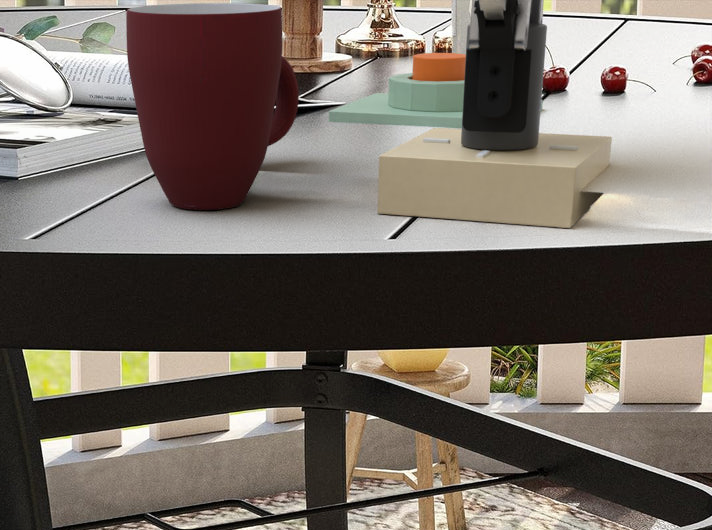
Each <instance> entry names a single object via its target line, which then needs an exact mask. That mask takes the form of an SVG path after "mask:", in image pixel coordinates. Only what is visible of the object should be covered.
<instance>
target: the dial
mask: <svg viewBox="0 0 712 530" xmlns="http://www.w3.org/2000/svg"><path fill="white" fill-rule="evenodd" d="M547 31H548V25H547V24H544V23H542V24H540V23H529V29H528V40H527V47H526V49H533V52H532V65H531V79H530V92H529V106H528V119H527V126H526V128H525V129H524V130H523V131H522V132H520V133H510V132H482V131H467V130H465V129H464V127H463V124H462V128H461V129H462V132H461V144H462V145H463V146H465V147H469V148H473V149H481V150H496V151H510V150H524V149H530V148H534V147H536V146H537V145H538V138H539V133H540V124H541V113H542V112H541V111H542V110H541V100H543V99H542V97H543V96H542V95H543V87H544V86H543V85H544V72H545V59H546V48H547V47H546V46H547V33H548V32H547ZM469 33H470V24H468V25H467V27H466V45H465V51H466V50H467V48H469ZM465 68H466V60H465ZM464 85H465V78H464ZM463 103H464V96H463ZM462 121H463V114H462Z"/></svg>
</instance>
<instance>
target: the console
mask: <svg viewBox="0 0 712 530" xmlns="http://www.w3.org/2000/svg"><path fill="white" fill-rule="evenodd" d="M461 132H462V128H446V127H432V128H431V129H429V130H427V131H425V132H423V133H421V134H419V135H417V136H415V137H413V138H411V139H410V140H407V141H405V142H403V143H401V144H399V145H398V146H395V147H393V148H392V149H389V150H388V151H386V152H383V153H382V154H379V156H378V178H377V179H378V180H377V181H378V184H377V185H378V186H377V210H376V212H377V214H378V215H392V216H403V217H404V216H405V217H416V218H418V217H419V218H429V219H442V220H443V219H444V220H456V221H471V222H483V223H497V224H510V225H522V226H534V227H536V226H537V227H546V228H547V227H550V228H562V229H572V227H573V226H574V225H575V224H576V223H577V222H578V221H579V220H580V219H581V218H582V217H583V216H584V215H585V214H586V213H587V212H588V211H589V210H590V209H591V207H592V206H593V205H594V204H595V203H596V202H597V201H598V200H599V199H600V198H602V196H603V195H604V194H605V192H600V191H598V192H597V191H583V189H584V188H585V187H587V186H588V185H589V184H590V183H591V182H593V180H594V179H596V177H598V175H600V174H601V173H602V172H603V171H604V170H605V169H606V168H607V167H608V166H609V165H610V160H611V151H612V140H613V137H612V136H607V135H606V136H605V135H604V136H603V135H587V134H586V135H584V134H565V133H543V132H539V138H538V145H537V146H536V147H534V148H530V149H524V150H510V151H496V150H481V149H473V148H469V147H465V146H463V145H462V144H461Z"/></svg>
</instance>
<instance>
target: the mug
mask: <svg viewBox="0 0 712 530" xmlns="http://www.w3.org/2000/svg"><path fill="white" fill-rule="evenodd" d="M125 19H126V20H125V21H126V22H125V23H126V25H125V27H126V28H125V29H126V30H125V32H126V57H127V66H128V72H129V78H130V83H131V88H132V93H133V99H134V104H135V109H136V113H137V119H138V124H139V130H140V134H141V138H142V144H143V148H144V152H145V156H146V159H147V161H148V164H149V167H150V169H151V170H152V172H153V175H154V176H155V178H156V180H157V182H158V184H159V186H160V188H161V190H162V191H163V193H164V195H165V197H166V199H167V201H168V203H170V205H171V206H173V207H176V208H179V209H182V210H193V211H195V210H196V211H216V210H226V209H231V208H232V209H233V208H235V207H238V206H240V205H242V204H244V202H245V200H246V198H247V196H248V194H249V193H250V190H251V188H252V186H253V184H254V183H255V180H256V179H257V176H258V174H259V172H260V170H261V168H262V165H263V163H264V161H265V157H266V155H267V151H268V147H270V146H272V145H274V144H277V143H278V142H279V141H280V140H282V139H283V138H284V137H285V136H286V135H287V134H288V133H289V131H291V128H292V126H293V125H294V123H295V119H296V117H297V113H298V109H299V100H300V99H299V98H300V97H299V96H300V93H299V84H298V80H297V76H296V73H295V71H294V69H293V66H292V65H291V64H290V62H289V61H288V60H287V59H286V57H284V56H283V10H282V7H281V6H278V5H273V4H262V3H261V4H260V3H234V2H233V3H232V2H202V3H201V2H200V3H198V2H197V3H169V4H168V3H167V4H154V5H143V6H134V7H130V8H127V9H126V14H125Z"/></svg>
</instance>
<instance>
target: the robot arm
mask: <svg viewBox="0 0 712 530" xmlns="http://www.w3.org/2000/svg"><path fill="white" fill-rule="evenodd" d="M544 3H545V1H544V0H472V1H471V9H470V10H471V12H470V22H469V25H470V33H469V48H467V50H466V49H465V55H466V68H465V85H464V103H463V121H462V124H463V127H464V129H465V130H467V131H482V132H510V133H520V132H522V131H523V130H524V129H525V128H526V126H527V119H528V106H529V92H530V79H531V65H532V52H533V49H526V47H527V40H528V29H529V23H540V24H543V19H544Z"/></svg>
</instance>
